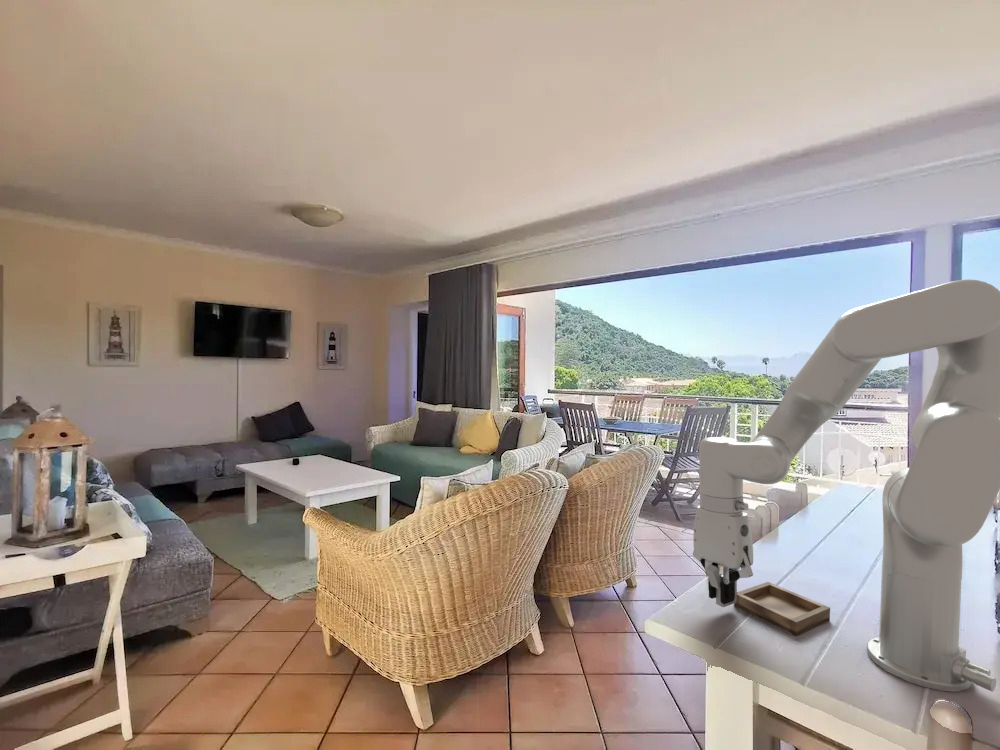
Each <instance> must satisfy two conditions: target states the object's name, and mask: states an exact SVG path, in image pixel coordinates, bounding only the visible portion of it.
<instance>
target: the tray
mask: <svg viewBox="0 0 1000 750" xmlns="http://www.w3.org/2000/svg"><path fill="white" fill-rule="evenodd" d="M733 607H736V608H738V609H740V610H741V611H743V612H745V613H748V614H750V615H751V616H754V617H757V618H758V619H760V620H762V621H764V622H766V623H768V624H770V625H772V626H774V627H776V628H778V629H780V630H782V631H784V632H787V633H789V634H791V635H792V636H794V637H798V636H800V635H801V634H804V633H806V632H808V631H809V632H810V630H814V629H815V628H817V627H819V626H822V625H825V624H826V623H828V622H830V621H831V618H830V617H831V607H829V606H827V605H826V604H823V603H820V602H817V601H815V600H812V599H810V598H808V597H805V596H804V595H800V594H798V593H796V592H794V591H791V590H789V589H787V588H784V587H781V586H779V585H777V584H775V583H771V582H769V581H766V582H763V583H760V584H757V585H753V586H752V587H748V588H746V589H743V590H740V591H737V602H736V603H734V604H733Z"/></svg>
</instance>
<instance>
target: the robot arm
mask: <svg viewBox="0 0 1000 750" xmlns="http://www.w3.org/2000/svg"><path fill="white" fill-rule="evenodd" d="M828 331H829V332H828V333H827V334H826V335H825V337H824V338H823V339H822V340H821V342H820V343H819V344H818V346H817V347H816V349H815V350H814V352H813V353H812V354H811V356H810V357H809V359H808V360H807V361H806V363H805V364H804V365H803V366H802V368H800V370H799V371H798V373H797V374H796V376H795V377H794V379H793V380H792V381H791V383H790V384H789V385H788V387H787V388H786V390H785V393H784V395H783V397H782V399H781V401H780V402H779V404H778V405H777V407H776V408H775V410H774V411H773V413H772V414H771V415H770V416H769V418H768V419H767V420H766V422H765V424H764V425H763V426H762V427H761V428H760V430H759V431H758V433H757V434H756V435H755V437H754V438H753V439H752V440H751V442H740V441H739V440H738V439H736V438H732V437H724V436H711V437H705V438H703V439H701V441H700V442H699V446H698V447H699V448H698V449H699V452H698V453H699V454H698V456H699V457H698V461H699V462H698V463H699V466H698V467H699V468H698V469H699V505H698V506H696V507H697V508H696V511H695V518H694V523H693V525H694V526H693V535H692V536H693V541H692V543H693V551H692V556H693V557H694V558H695V559H696V560H697V561H698V562H699V563H700V564H701V566H702V567H703V568H704V573H705V575H706V577H708V575H707V573H706V570H705V569H706V568H707V567H708V565H709V564H711V565H713V566H716V567H717V568H718V571H719V574H720V577H721V575H723V581H724V582H721V583H720V601H721V603H722V604H727V603H730V602H732V601H734V598H735V581H737V582H738V580H740V579H748V578H751V577H753V576H754V573H753V569H752V566H753V564H754V547H753V545H754V544H753V536H752V529H751V523H750V519H749V515H748V513H746V512H744V511H748V509H749V504H748V503H746V502H745V501H744V482H743V481H747V482H751V483H755V484H760V485H776V484H778V483H779V482H782V481H783V480H784V479H785V478H786V477H787V476H788V474H789V472H790V467H791V463H792V462H793V460H794V459H795V457H796V456H797V455H798V454H799V453H800V452H801V450H802V449H803V447H804V446H805V444H806V443H807V442H808V441H809V440H810V438H811V437H812V436H813V435H814V434H815V432H817V431H818V430H819V429H820V428H821V426H823V425H824V424H825V423H827V422H828V421H829V420H830V419H833V418H834V417H835V416H836V415H837V414H838V413H839V412H840V411H841V410H843V408H844V406H846V404H847V403H848V402H849V400H850V399H851V397H852V396H853V395H854V393H856V391H857V390H858V388H859V387H860V386H861V385H862V384H863V382H864V381H865V379H867V378H868V377H869V375H870V373H871V372H872V371H873V370H874V369H875V368H876V366H877V364H879V362H880V361H881V360H882V359H886V358H892V357H897V356H901V355H906V354H912V353H916V352H921V351H925V350H929V349H934V348H936V351H937V356H938V360H937V361H938V362H937V365H936V366H937V367H936V370H935V374H934V375H933V379H932V382H931V385H930V388H929V390H928V392H927V395H926V396H925V399H924V402H923V404H922V407H921V408H920V409H921V410H920V412H919V413H918V414H917V417H916V419H915V421H914V423H913V425H912V428H911V429H912V430H911V440H912V442H913V444H914V446H915V447H916V449H915V453H914V456H913V458H912V460H911V463H910V465H909V467H905V468H902V469H899V470H897V471H896V472H895V473H893V474H892V475H891V476H890V477H889V478H888V479H887V481H886V483H885V485H884V487H883V490H882V491H883V492H882V499H881V500H882V535H883V536H882V537H883V538H882V559H881V560H882V562H881V583H880V584H881V585H880V589H881V590H880V606H879V607H880V609H879V610H880V611H879V630H878V633H879V634H878V637H874V638H871V639H869V640H868V641H867V643H866V652H867V655H868V657H870V659H871V660H872V661H873V662H874V663H875V664H877V665H878V666H879V667H880V668H881V669H883V670H885V671H886V672H888V673H889V674H892V675H894V676H896V677H897V678H900V679H902V680H905V682H909V683H912V684H915V685H917V686H921V687H924V688H928V689H933V690H937V691H941V692H942V691H944V692H961V691H965V690H967V689H969V688H970V687H971V686H972V683H973V684H975V685H976V686H979V687H981V688H983V689H985V690H987V691H990V692H994V691H995V689H996V686H997V679H996V677H994V676H992V675H991V670H990V669H988V668H985V667H984V666H981V665H977V664H975V663H973V662H971V661H970V660H969V659H968V658H967V649H966V648H963V647H961V646H959V645H960V644H959V643H960V641H959V640H960V621H961V620H960V618H961V601H962V600H961V598H962V596H961V595H962V581H963V545H964V544H965V543H968V542H970V541H971V540H973V538H975V537H976V536H977V534H978V533H979V532H980V531H981V529H982V527H984V524H985V523H986V520H987V518H988V517H989V514H990V512H991V509H992V507H993V505H994V503H995V502H996V498H997V496H998V494H999V492H1000V290H999V289H998V288H997V287H995V286H994V285H992V284H990V283H988V282H986V281H982V280H978V279H958V280H954V281H949V282H945V283H941V284H938V285H934V286H931V287H928V288H924V289H921V290H917V291H913V292H910V293H906V294H902V295H900V296H896V297H893V298H888V299H885V300H881V301H877V302H874V303H873V302H872V303H870V304H866V305H861V306H857V307H855V308H852V309H849V310H848V311H846V312H845V313H843V314H842V315H841V316H840V317H839V318H838V319H837V320H836V322H835V323H834V325H833V326H832V328H830V330H828ZM720 566H722V573H720V570H721V569H720ZM707 580H708V581H707V582H708V583H707V584H708V598H709V599H712V600H713V599H716V588H715V587H713V586H712V585H711V584H710V581H709V578H708V579H707Z"/></svg>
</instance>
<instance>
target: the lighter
mask: <svg viewBox="0 0 1000 750" xmlns="http://www.w3.org/2000/svg"><path fill="white" fill-rule="evenodd" d="M705 570H706V573H707V575H708V576H707V575H706V576H707V577H708V578H709V581H710V584H711V585H712V586H713V587H715V588H716V598H715V604H716V605H717V606H719V607H722V608H725V607H728V606H731V605H734V603H736V602H737V592H738V590H737V588H738V586H737V585H738V584H737V583H738V580H737V581H735V598H734V601H732V602H730V603H727V604H722V603H721V601H720V583H721V582H724V581H723V574H721V573H720V572H719V571H718V568H717V567H716V566H713V565H711V564H709V565H708V567H707V568H706V569H704V571H705ZM720 574H721V577H720Z"/></svg>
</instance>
